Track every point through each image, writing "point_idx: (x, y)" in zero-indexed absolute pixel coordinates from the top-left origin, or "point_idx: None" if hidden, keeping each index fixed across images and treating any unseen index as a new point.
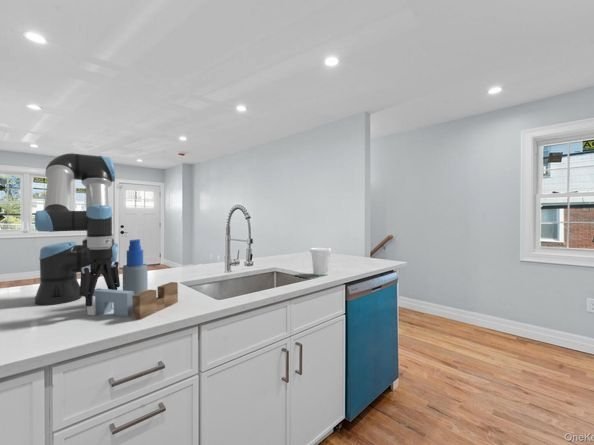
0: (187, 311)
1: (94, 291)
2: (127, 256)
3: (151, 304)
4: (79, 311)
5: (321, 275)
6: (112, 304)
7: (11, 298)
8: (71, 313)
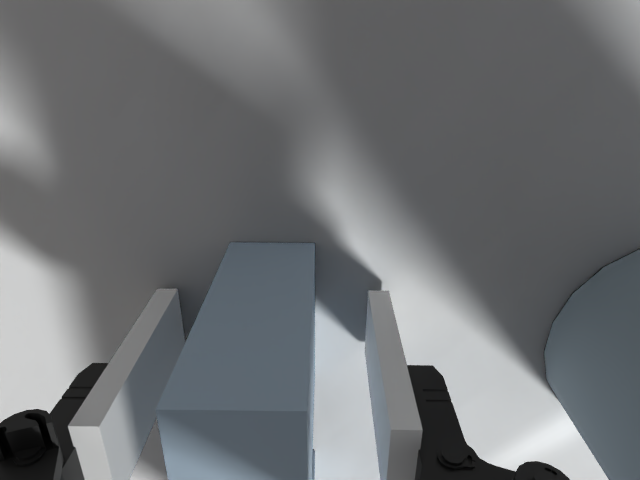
0: None
1: (171, 467)
2: None
3: None
4: (219, 92)
5: None
6: (369, 376)
7: None
8: (138, 67)
